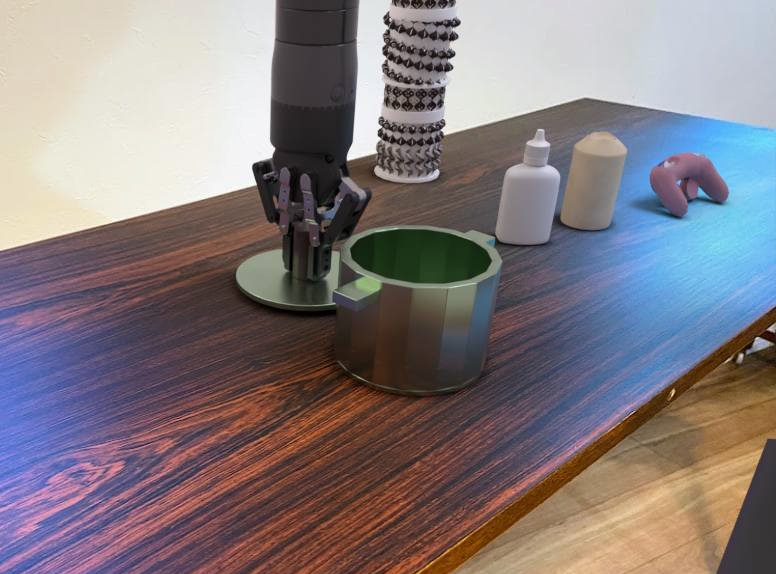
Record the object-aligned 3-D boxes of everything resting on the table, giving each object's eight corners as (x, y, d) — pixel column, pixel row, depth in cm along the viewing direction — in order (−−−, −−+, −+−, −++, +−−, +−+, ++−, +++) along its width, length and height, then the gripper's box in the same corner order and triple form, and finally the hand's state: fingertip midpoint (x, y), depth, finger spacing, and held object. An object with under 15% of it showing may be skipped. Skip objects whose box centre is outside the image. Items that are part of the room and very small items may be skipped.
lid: (403, 287, 89) (409, 227, 86) (307, 331, 82) (310, 267, 78) (302, 247, 98) (305, 192, 94) (207, 284, 90) (206, 224, 87)
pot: (530, 349, 79) (550, 246, 74) (399, 427, 68) (412, 314, 63) (414, 302, 87) (425, 206, 81) (281, 366, 76) (284, 261, 71)
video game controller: (697, 206, 113) (687, 150, 111) (733, 199, 109) (723, 141, 107) (649, 222, 108) (638, 164, 107) (684, 216, 104) (674, 155, 103)
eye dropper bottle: (502, 228, 102) (519, 121, 96) (552, 238, 100) (573, 128, 93) (490, 241, 99) (507, 131, 93) (541, 251, 97) (563, 139, 90)
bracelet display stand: (407, 189, 114) (429, -31, 100) (356, 170, 120) (371, -39, 106) (457, 175, 118) (484, -37, 105) (405, 157, 124) (425, -45, 111)
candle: (613, 232, 101) (634, 143, 96) (562, 229, 102) (580, 140, 97) (606, 214, 106) (625, 128, 100) (557, 212, 107) (573, 126, 101)
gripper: (403, 99, 77) (385, 284, 87) (287, 72, 86) (282, 243, 95) (344, 115, 73) (332, 308, 83) (228, 85, 82) (229, 262, 91)
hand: (305, 272), depth 89 cm, fingers closed on lid, 2 cm apart
